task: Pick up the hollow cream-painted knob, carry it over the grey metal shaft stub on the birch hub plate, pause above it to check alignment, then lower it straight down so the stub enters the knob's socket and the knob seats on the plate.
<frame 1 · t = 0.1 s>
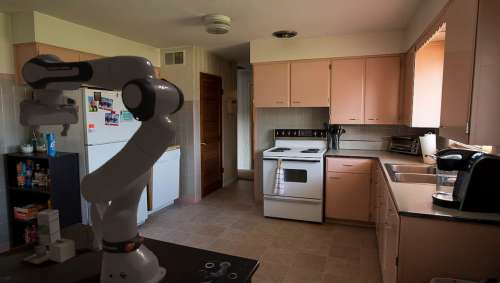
hand: (52, 137, 110), 48 cm above the countertop, fingers open, 8 cm apart
syrup box: (50, 243, 129), on the countertop
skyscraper: (101, 247, 126), on the countertop
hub: (41, 257, 116), on the countertop
knob: (62, 257, 116), on the countertop
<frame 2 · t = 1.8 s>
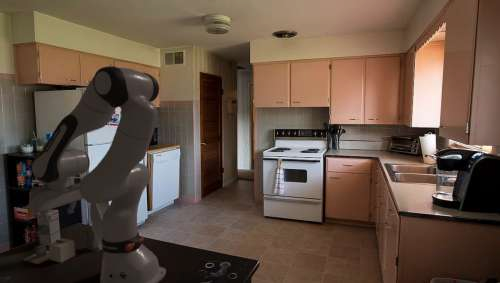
hand: (59, 216, 115), 17 cm above the countertop, fingers open, 8 cm apart
nothing on the countertop moved.
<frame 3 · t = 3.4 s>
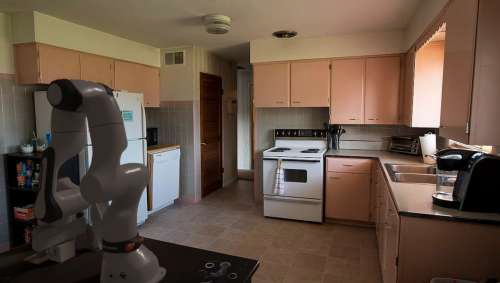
hand: (62, 251, 116), 2 cm above the countertop, fingers closed on knob, 6 cm apart
knob: (62, 257, 116), on the countertop, touching gripper
everything else where it was.
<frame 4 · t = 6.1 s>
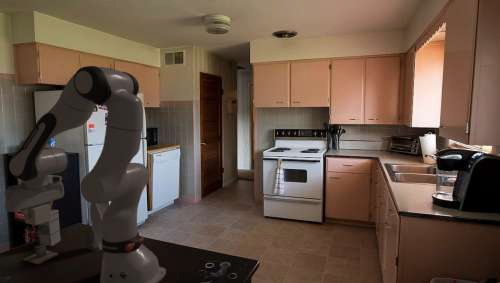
hand: (38, 215, 115), 17 cm above the countertop, fingers closed on knob, 6 cm apart
knob: (38, 221, 115), point 15 cm above the countertop, touching gripper
everything else where it was.
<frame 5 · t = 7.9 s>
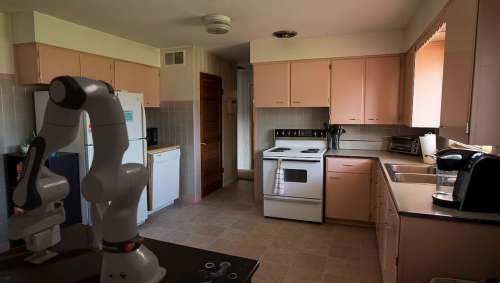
hand: (39, 241, 116), 7 cm above the countertop, fingers closed on knob, 6 cm apart
knob: (39, 247, 116), point 4 cm above the countertop, touching gripper
everything else where it was.
when the fingers open (4 cm above the countertop, at t = 9.0 s): knob stays where it is, resting on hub.
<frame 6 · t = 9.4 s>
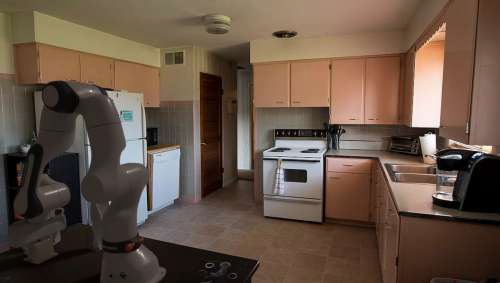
hand: (40, 248, 116), 4 cm above the countertop, fingers open, 8 cm apart
knob: (41, 256, 116), point 1 cm above the countertop, touching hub
everything else where it was.
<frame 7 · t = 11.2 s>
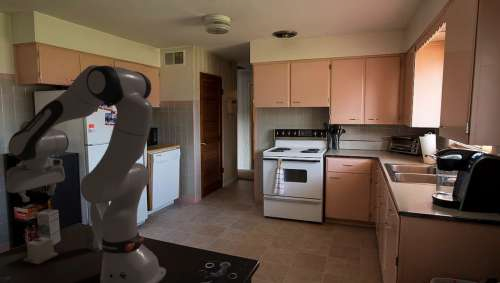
hand: (38, 198, 115), 24 cm above the countertop, fingers open, 8 cm apart
nothing on the countertop moved.
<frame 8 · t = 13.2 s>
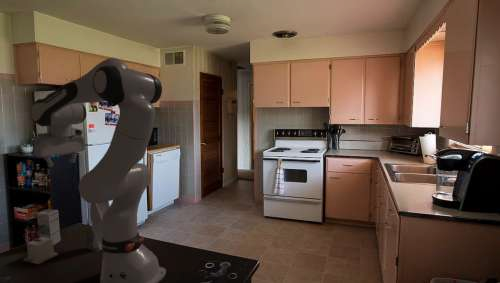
hand: (62, 164, 124), 35 cm above the countertop, fingers open, 8 cm apart
nothing on the countertop moved.
at the end: knob 0.1 cm off-centre on the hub, point 0.6 cm above the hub's base; knob tilted 0°; knob touching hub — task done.
